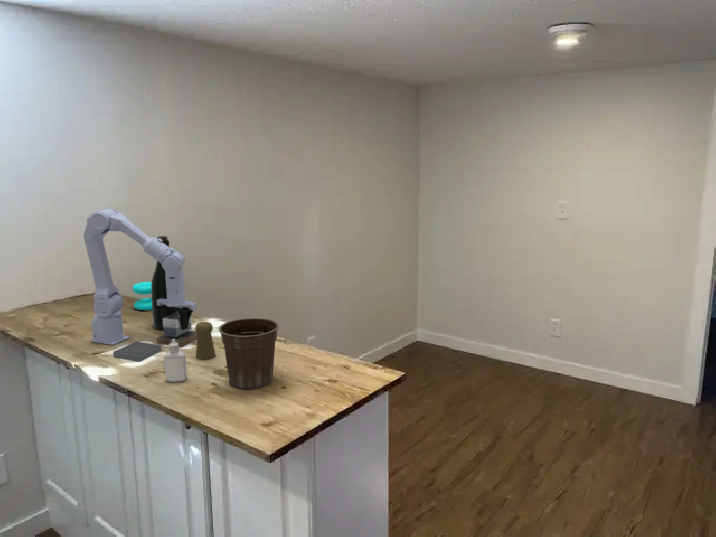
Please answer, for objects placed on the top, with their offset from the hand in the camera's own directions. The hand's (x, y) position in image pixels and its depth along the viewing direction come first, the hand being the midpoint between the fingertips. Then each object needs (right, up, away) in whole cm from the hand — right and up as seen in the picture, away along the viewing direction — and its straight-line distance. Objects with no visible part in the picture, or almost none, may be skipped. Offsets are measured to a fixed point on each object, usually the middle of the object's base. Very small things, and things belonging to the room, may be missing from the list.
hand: (178, 327), depth 190 cm
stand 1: (-9, -7, -11) cm, 16 cm away
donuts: (-24, +4, +38) cm, 45 cm away
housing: (0, -2, 0) cm, 2 cm away
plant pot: (+30, -12, -31) cm, 45 cm away
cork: (+13, -8, -13) cm, 20 cm away
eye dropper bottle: (+9, -12, -31) cm, 34 cm away
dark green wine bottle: (-8, -1, +16) cm, 18 cm away
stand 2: (0, -4, +1) cm, 4 cm away
